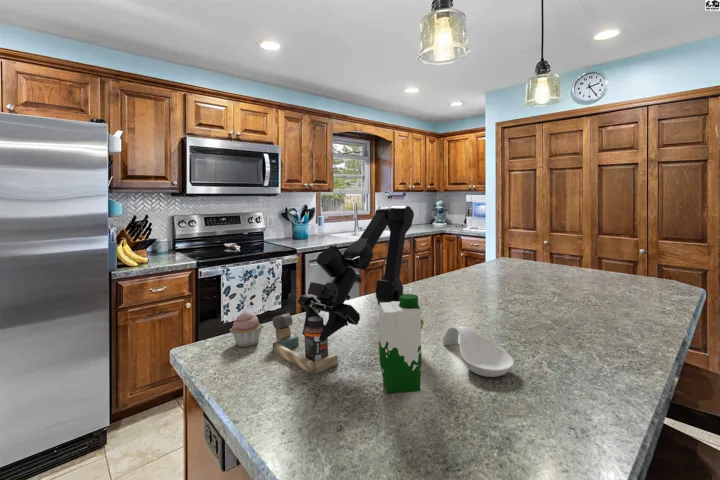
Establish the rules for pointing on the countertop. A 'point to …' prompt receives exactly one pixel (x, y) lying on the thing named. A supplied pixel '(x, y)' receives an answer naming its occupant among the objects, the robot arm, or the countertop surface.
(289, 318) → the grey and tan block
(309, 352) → the supplement bottle
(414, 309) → the milk carton
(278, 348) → the frame
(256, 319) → the cupcake
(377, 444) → the countertop surface
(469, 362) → the spoon rest
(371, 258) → the robot arm
